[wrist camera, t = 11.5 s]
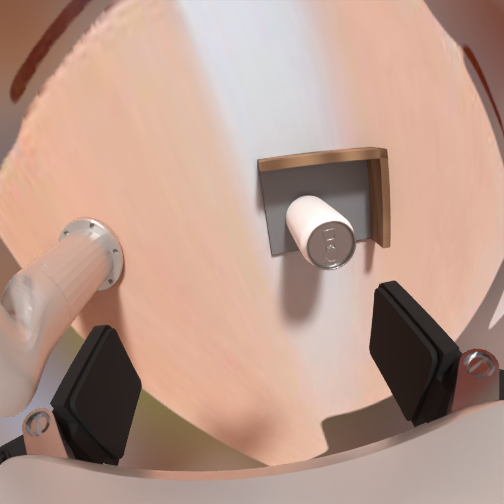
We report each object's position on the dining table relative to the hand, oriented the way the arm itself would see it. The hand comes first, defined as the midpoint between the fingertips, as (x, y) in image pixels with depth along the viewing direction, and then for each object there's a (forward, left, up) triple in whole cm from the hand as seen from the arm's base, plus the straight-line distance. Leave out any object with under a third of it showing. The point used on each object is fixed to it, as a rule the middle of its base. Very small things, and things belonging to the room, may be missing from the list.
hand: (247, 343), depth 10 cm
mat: (+11, -3, -32) cm, 35 cm away
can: (+9, -6, -32) cm, 34 cm away
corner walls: (+11, -3, -32) cm, 35 cm away
